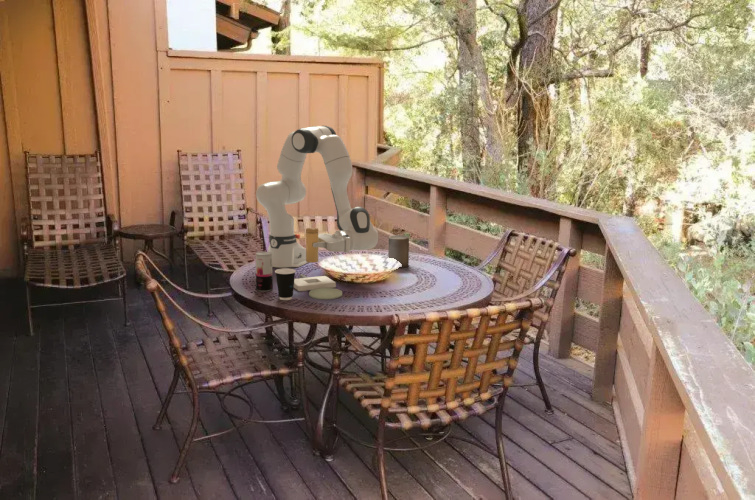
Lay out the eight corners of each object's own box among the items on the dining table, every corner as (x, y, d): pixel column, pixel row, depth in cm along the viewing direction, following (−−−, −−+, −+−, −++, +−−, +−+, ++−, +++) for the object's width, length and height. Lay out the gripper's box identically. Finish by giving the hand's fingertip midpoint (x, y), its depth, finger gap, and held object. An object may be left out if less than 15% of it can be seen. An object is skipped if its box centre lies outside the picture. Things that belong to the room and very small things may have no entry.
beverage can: (260, 292, 265) (259, 255, 262) (253, 289, 270) (252, 252, 267) (275, 290, 268) (274, 253, 265) (268, 286, 274) (267, 250, 271)
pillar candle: (410, 264, 318) (411, 232, 315) (406, 268, 308) (406, 236, 305) (390, 262, 320) (391, 231, 317) (385, 267, 311) (385, 235, 308)
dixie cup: (297, 300, 255) (297, 272, 252) (276, 302, 253) (276, 273, 250) (294, 295, 262) (294, 267, 260) (274, 296, 260) (273, 268, 258)
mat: (322, 288, 272) (322, 286, 272) (348, 293, 265) (348, 291, 265) (302, 295, 261) (302, 293, 261) (329, 301, 255) (329, 298, 254)
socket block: (318, 276, 292) (318, 271, 292) (335, 287, 275) (335, 282, 274) (283, 279, 285) (283, 274, 285) (298, 291, 268) (298, 286, 267)
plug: (315, 259, 278) (315, 227, 275) (320, 262, 273) (320, 229, 270) (304, 260, 276) (304, 228, 273) (308, 263, 271) (308, 230, 268)
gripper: (332, 229, 287) (301, 231, 281) (351, 238, 269) (318, 240, 263) (332, 243, 288) (301, 245, 282) (350, 253, 270) (318, 256, 264)
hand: (310, 243), depth 272 cm, fingers closed on plug, 5 cm apart
